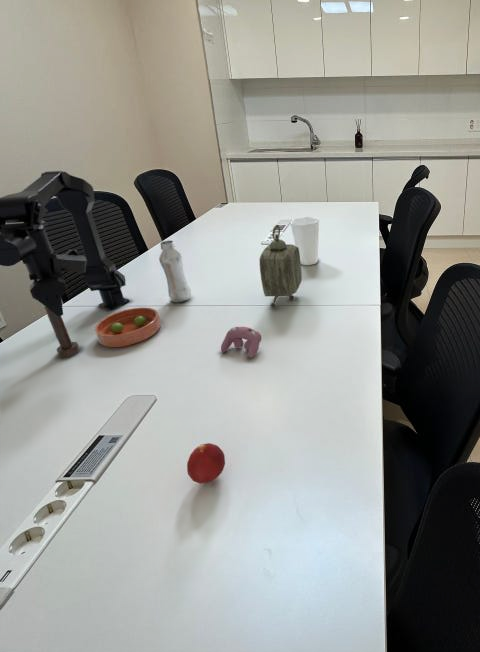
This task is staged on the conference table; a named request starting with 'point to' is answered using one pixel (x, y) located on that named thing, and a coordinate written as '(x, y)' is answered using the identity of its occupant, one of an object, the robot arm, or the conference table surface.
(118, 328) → the olive
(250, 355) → the video game controller
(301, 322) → the conference table surface
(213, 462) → the onion
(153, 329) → the bowl
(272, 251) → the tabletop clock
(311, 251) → the cup
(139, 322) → the olive
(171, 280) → the plastic bottle
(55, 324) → the brown bolt
